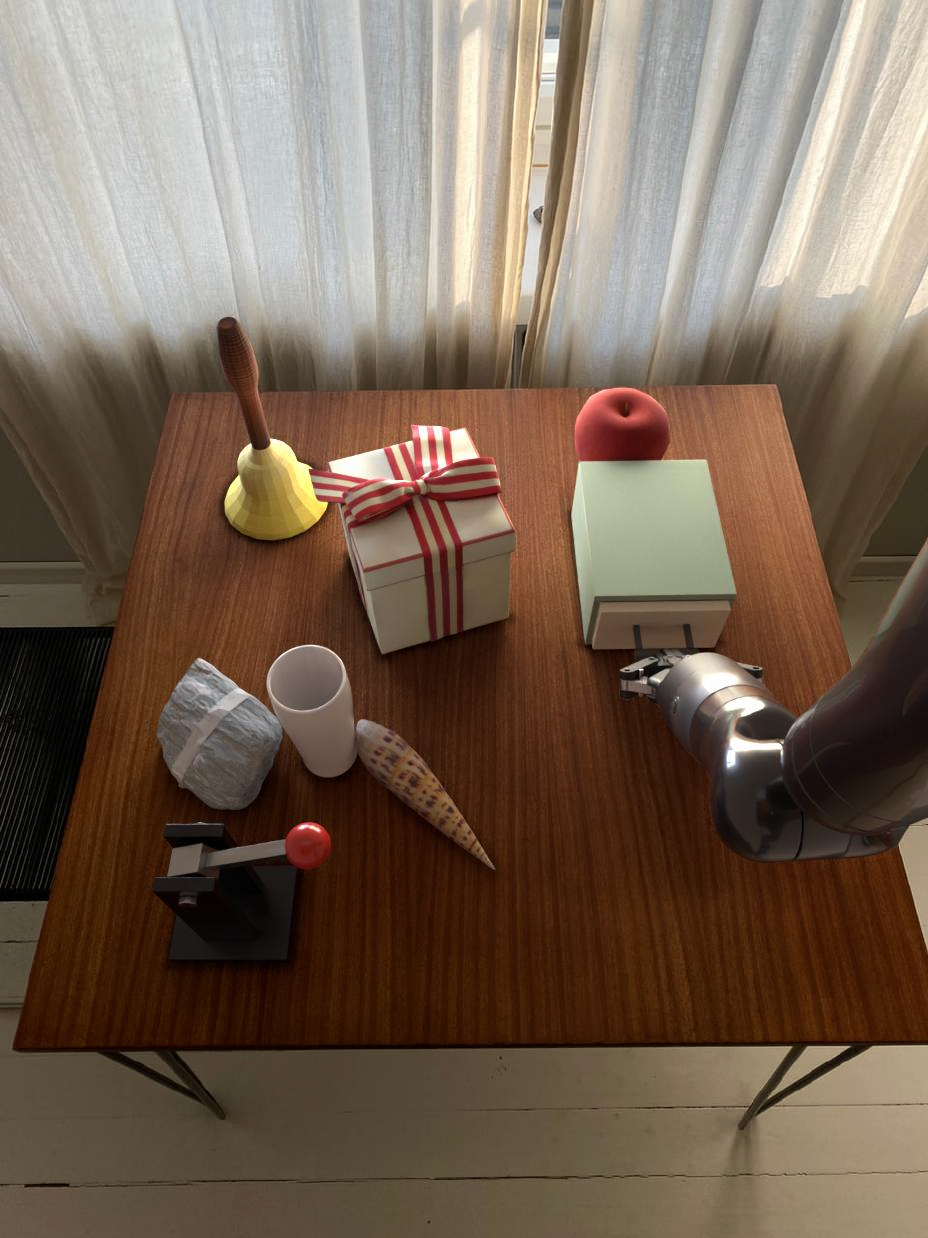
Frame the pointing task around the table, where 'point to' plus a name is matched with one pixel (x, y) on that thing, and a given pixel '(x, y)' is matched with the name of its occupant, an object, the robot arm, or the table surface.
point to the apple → (621, 427)
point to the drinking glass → (315, 707)
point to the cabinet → (647, 535)
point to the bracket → (228, 906)
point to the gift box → (424, 535)
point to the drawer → (659, 625)
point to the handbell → (262, 456)
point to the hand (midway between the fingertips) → (667, 658)
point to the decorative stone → (217, 738)
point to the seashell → (413, 783)
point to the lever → (253, 854)
